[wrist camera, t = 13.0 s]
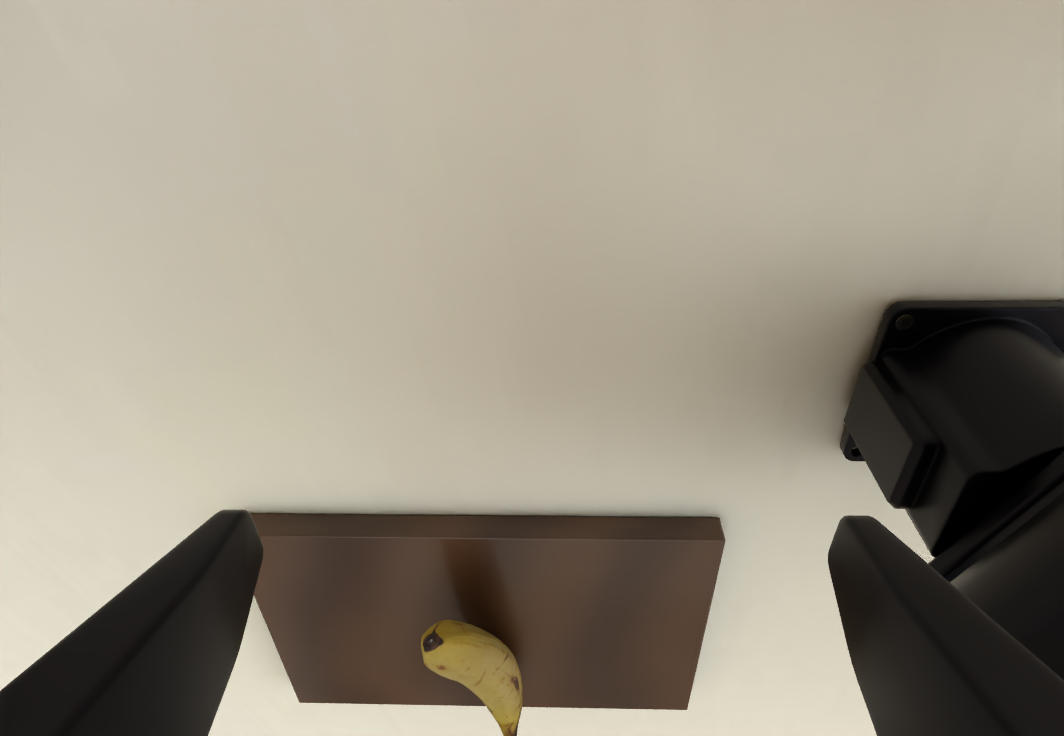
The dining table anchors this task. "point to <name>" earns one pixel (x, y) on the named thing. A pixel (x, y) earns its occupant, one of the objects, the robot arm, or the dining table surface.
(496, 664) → the banana
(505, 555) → the walnut board
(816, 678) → the dining table surface
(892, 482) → the robot arm
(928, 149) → the dining table surface
